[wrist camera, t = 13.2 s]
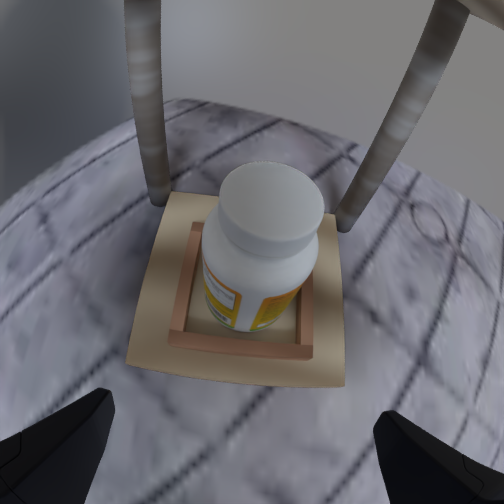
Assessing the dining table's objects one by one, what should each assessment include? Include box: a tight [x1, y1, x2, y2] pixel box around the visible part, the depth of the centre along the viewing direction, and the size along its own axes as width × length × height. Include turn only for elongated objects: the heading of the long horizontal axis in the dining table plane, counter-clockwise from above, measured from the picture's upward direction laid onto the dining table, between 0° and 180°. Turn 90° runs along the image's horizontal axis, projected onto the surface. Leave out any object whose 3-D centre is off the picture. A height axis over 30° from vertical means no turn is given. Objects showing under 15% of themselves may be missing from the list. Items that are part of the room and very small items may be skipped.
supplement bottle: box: [202, 161, 324, 332], centre depth 14 cm, size 5×5×10 cm
